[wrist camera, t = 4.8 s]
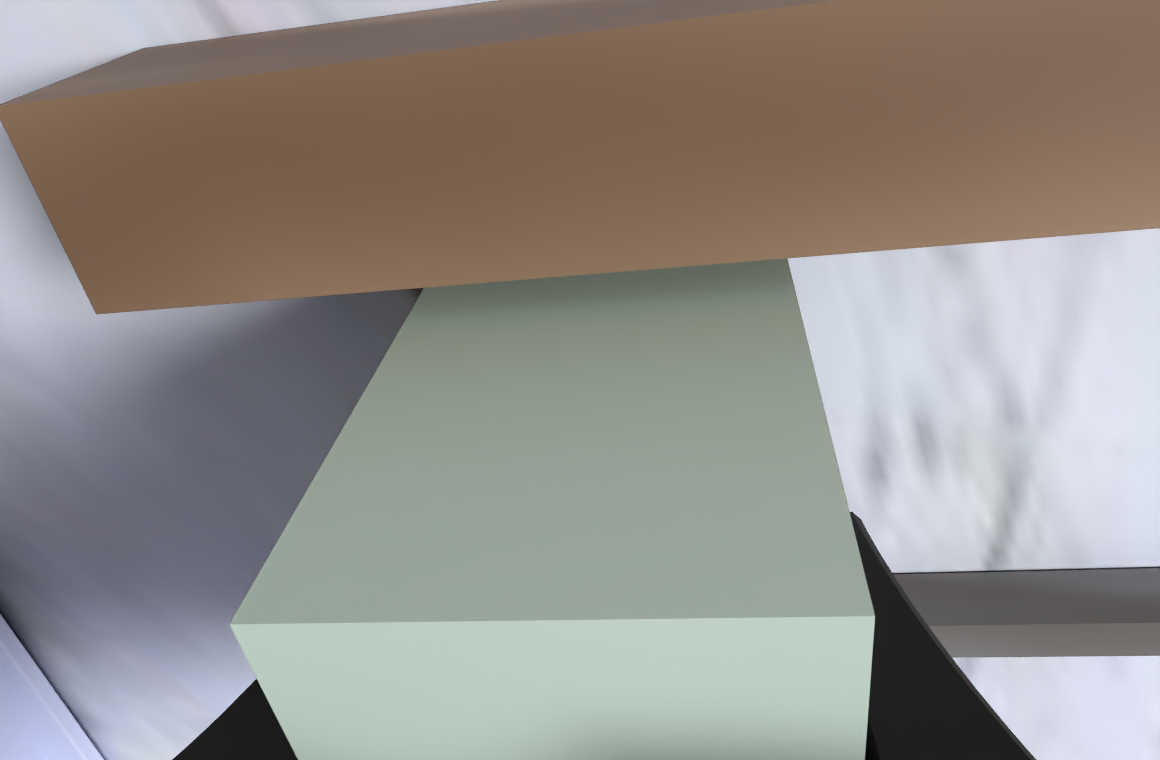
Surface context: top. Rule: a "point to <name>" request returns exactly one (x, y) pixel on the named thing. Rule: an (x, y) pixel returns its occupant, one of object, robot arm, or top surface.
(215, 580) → the top surface
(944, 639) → the wall board
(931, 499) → the top surface
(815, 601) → the cabinet block
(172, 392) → the top surface
